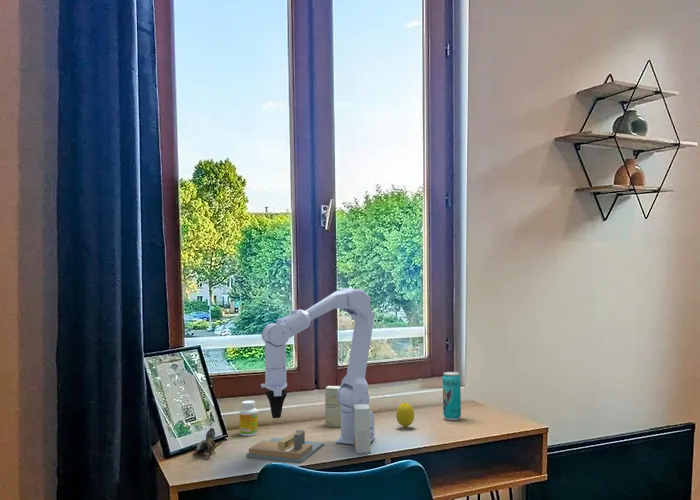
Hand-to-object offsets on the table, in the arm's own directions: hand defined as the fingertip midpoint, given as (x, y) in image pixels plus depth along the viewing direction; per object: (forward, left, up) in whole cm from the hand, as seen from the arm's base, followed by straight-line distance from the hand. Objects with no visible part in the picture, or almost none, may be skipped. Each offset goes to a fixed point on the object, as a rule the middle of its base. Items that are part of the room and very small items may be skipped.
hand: (276, 417), depth 168 cm
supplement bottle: (+17, -15, -10) cm, 24 cm away
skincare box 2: (-22, -9, -10) cm, 25 cm away
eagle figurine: (+18, +7, -10) cm, 21 cm away
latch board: (-2, -2, -10) cm, 10 cm away
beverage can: (-39, -50, -10) cm, 64 cm away
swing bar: (-4, -1, -8) cm, 10 cm away
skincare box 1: (-5, -32, -10) cm, 34 cm away
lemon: (-27, -35, -10) cm, 45 cm away
